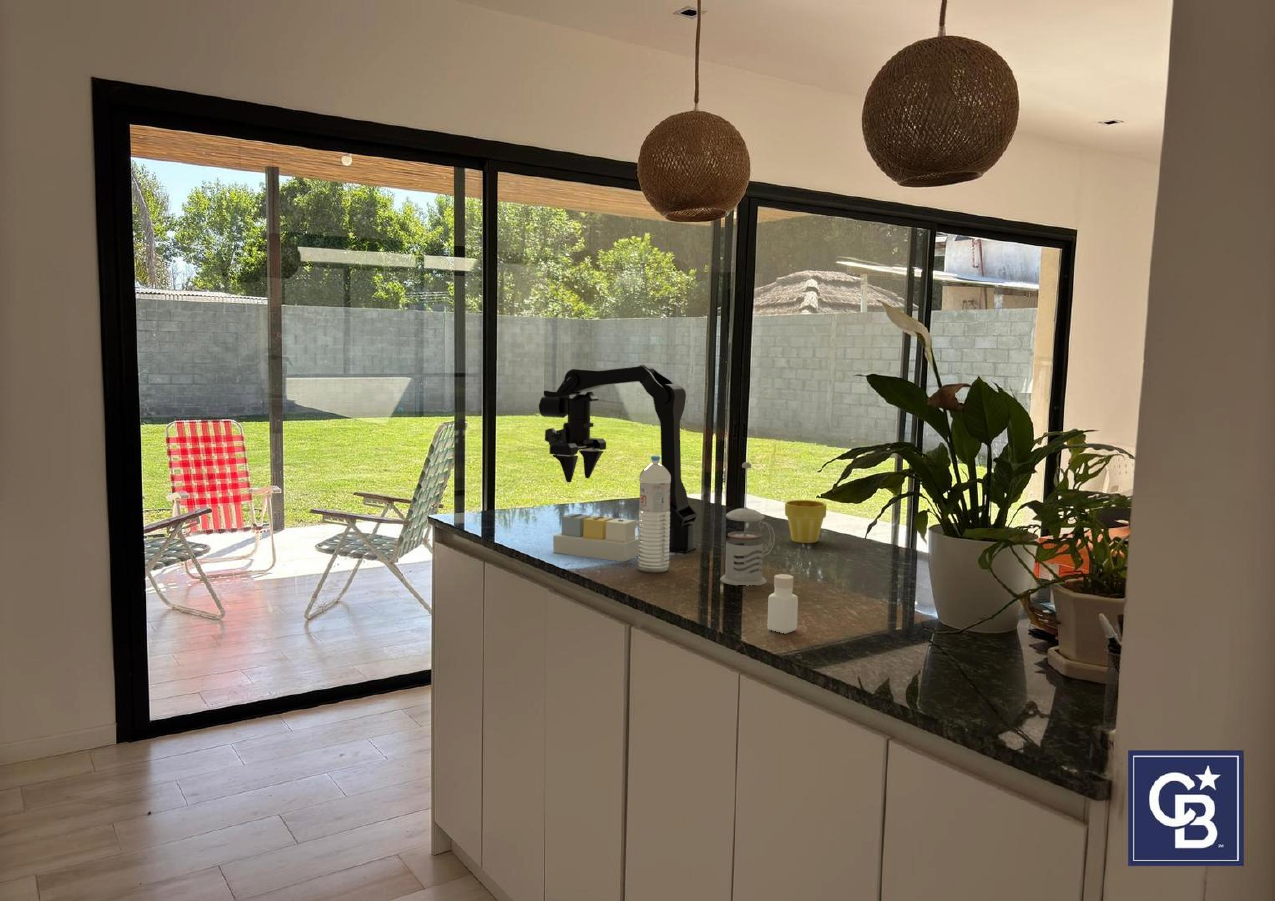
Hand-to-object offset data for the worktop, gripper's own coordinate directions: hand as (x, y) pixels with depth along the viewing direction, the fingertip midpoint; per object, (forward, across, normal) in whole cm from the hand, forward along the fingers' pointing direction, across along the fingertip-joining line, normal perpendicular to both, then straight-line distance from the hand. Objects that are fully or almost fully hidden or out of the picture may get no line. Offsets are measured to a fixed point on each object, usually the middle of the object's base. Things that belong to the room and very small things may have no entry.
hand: (578, 480), depth 237 cm
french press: (+15, +20, +53) cm, 59 cm away
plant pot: (+15, -27, +51) cm, 60 cm away
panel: (+15, +14, +14) cm, 25 cm away
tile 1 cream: (+11, +14, +20) cm, 27 cm away
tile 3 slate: (+11, +14, +8) cm, 20 cm away
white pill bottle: (+15, +51, +71) cm, 89 cm away
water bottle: (+15, +22, +32) cm, 42 cm away
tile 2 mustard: (+11, +14, +14) cm, 23 cm away
